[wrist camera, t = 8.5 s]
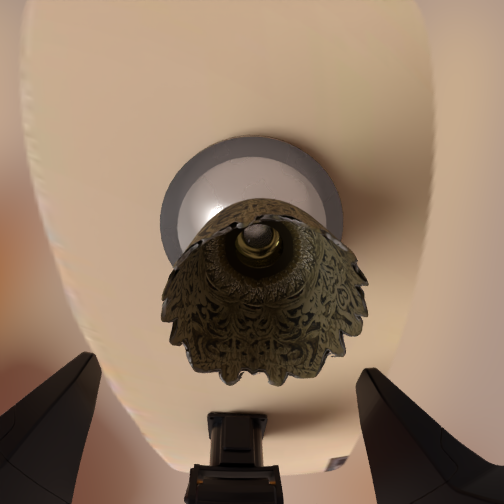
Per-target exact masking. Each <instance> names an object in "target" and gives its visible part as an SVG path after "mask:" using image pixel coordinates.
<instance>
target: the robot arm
mask: <svg viewBox="0 0 504 504" xmlns="http://www.w3.org/2000/svg"><path fill="white" fill-rule="evenodd" d="M101 373H102V371H101V367H100V365H99V362H98V360H97V357H96V355H95V354H94V353H90V352H83V353H81V354H80V355H78V356H77V357H76V358H74V359H73V360H72V361H70V362H69V363H68V364H66V365H65V366H64V367H63V368H61V369H60V370H59V371H57V372H56V373H55V374H53V375H52V376H51V377H50V378H48V379H47V380H46V381H44V382H43V383H42V384H41V385H39V386H38V387H37V388H36V389H34V390H33V391H32V392H30V393H29V394H28V395H27V396H25V397H24V398H23V399H22V400H20V401H19V402H18V403H16V405H14V406H13V407H11V408H10V409H9V410H8V411H6V412H5V413H4V414H2V415H1V416H0V504H71V503H72V498H73V493H74V488H75V483H76V478H77V474H78V470H79V465H80V461H81V457H82V453H83V449H84V446H85V442H86V438H87V434H88V431H89V427H90V424H91V421H92V417H93V413H94V409H95V404H96V399H97V394H98V388H99V384H100V379H101ZM356 394H357V402H358V409H359V418H360V425H361V430H362V434H363V438H364V442H365V446H366V451H367V456H368V460H369V465H370V469H371V474H372V479H373V484H374V489H375V494H376V500H377V504H504V466H499V465H495V464H492V463H489V462H488V461H486V460H484V459H483V458H482V457H480V456H479V455H477V454H476V453H474V452H473V451H471V450H470V449H469V448H467V447H466V446H465V445H463V444H462V443H461V442H459V441H458V440H457V439H455V438H454V437H453V436H452V435H451V434H449V433H448V432H447V431H446V430H445V429H444V428H442V427H441V426H440V425H439V424H438V423H437V422H436V421H435V420H433V418H431V417H430V416H429V415H428V414H427V413H426V412H425V411H424V410H422V409H421V408H420V407H419V406H418V405H417V404H416V403H415V402H413V401H412V400H411V399H410V398H409V397H408V396H407V395H406V394H405V393H403V392H402V391H401V390H400V389H399V388H398V387H397V386H396V385H394V384H393V383H392V382H391V381H390V380H389V379H388V378H387V377H386V376H385V375H383V374H382V373H381V372H380V371H379V370H378V369H377V368H374V367H373V368H365V369H364V370H363V371H362V373H361V375H360V377H359V379H358V381H357V383H356ZM207 421H208V430H209V439H211V450H210V466H205V465H200V464H194V468H191V469H190V478H189V484H188V487H187V490H186V494H185V497H184V502H185V503H186V504H284V502H283V492H282V486H281V480H280V473H279V467H278V465H273V466H265V467H264V466H263V449H262V439H263V436H264V432H265V428H266V424H267V416H266V415H236V414H216V413H209V414H208V415H207ZM269 482H270V484H269Z"/></svg>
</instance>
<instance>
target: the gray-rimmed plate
mask: <svg viewBox="0 0 504 504" xmlns="http://www.w3.org/2000/svg"><path fill="white" fill-rule="evenodd" d="M254 198H270V199H276V200H281V201H284V202H287V203H290V204H292V205H294V206H296V207H298V208H300V209H302V210H303V211H305V212H307V213H308V214H309V215H311V216H312V217H313V218H314V219H316V220H317V221H318V222H319V223H320V224H322V225H323V226H324V227H325V228H326V229H327V230H329V231H330V232H331V233H332V234H333V235H334V236H335V237H336V238H337V239H338V240H340V241H341V238H342V232H343V212H342V205H341V201H340V198H339V194H338V192H337V190H336V187H335V185H334V183H333V181H332V180H331V178H330V177H329V175H328V174H327V172H326V171H325V170H324V169H323V168H322V167H321V165H320V164H319V163H318V162H317V161H315V160H314V159H313V158H312V157H311V156H310V155H308V154H307V153H305V152H304V151H302V150H300V149H299V148H297V147H295V146H293V145H291V144H289V143H287V142H284V141H281V140H278V139H275V138H271V137H264V136H240V137H233V138H229V139H226V140H222V141H220V142H217V143H215V144H213V145H210V146H209V147H207V148H205V149H204V150H202V151H200V152H199V153H198V154H196V155H195V156H194V157H193V158H192V159H190V160H189V161H188V162H187V163H186V164H185V165H184V166H183V167H182V168H181V169H180V170H179V171H178V173H177V174H176V176H175V177H174V179H173V180H172V182H171V183H170V185H169V187H168V190H167V192H166V194H165V197H164V200H163V203H162V208H161V214H160V231H161V239H162V243H163V246H164V250H165V252H166V255H167V257H168V259H169V261H170V263H171V264H172V266H173V265H174V264H175V263H176V261H177V260H178V259H179V258H180V257H181V255H182V254H183V253H184V251H185V250H186V249H187V247H188V246H189V244H190V243H191V242H192V240H193V239H194V237H195V236H196V235H197V233H198V232H199V231H200V230H201V228H202V227H203V226H204V225H205V224H206V223H207V222H208V221H209V220H210V219H211V218H212V217H213V216H215V215H216V214H217V213H218V212H220V211H221V210H223V209H224V208H226V207H228V206H230V205H232V204H234V203H237V202H240V201H243V200H247V199H254ZM271 238H272V231H271V229H270V227H269V226H267V225H262V224H257V225H252V226H249V227H247V228H246V229H245V231H244V239H245V241H246V243H247V244H248V245H250V246H251V247H255V248H260V247H264V246H266V245H267V244H268V243H269V242H270V240H271Z"/></svg>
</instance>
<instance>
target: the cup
mask: <svg viewBox="0 0 504 504" xmlns="http://www.w3.org/2000/svg"><path fill="white" fill-rule="evenodd" d="M257 224H262V225H267V226H269V227H270V229H271V231H272V238H271V240H270V242H269V243H268V244H267V245H266V246H264V247H260V248H255V247H251V246H250V245H248V244H247V243H246V241H245V239H244V231H245V229H246V228H247V227H249V226H252V225H257ZM357 261H358V260H357V258H356V256H355V255H354V253H353V252H352V251H351V250H350V249H349V248H348V247H347V246H346V245H344V244H343V243H342V242H341V241H340V240H338V239H337V238H336V237H335V236H334V235H333V234H332V233H331V232H330V231H329V230H327V229H326V228H325V227H324V226H323V225H322V224H320V223H319V222H318V221H317V220H316V219H314V218H313V217H312V216H311V215H309V214H308V213H307V212H305V211H303V210H302V209H300V208H298V207H296V206H294V205H292V204H290V203H287V202H284V201H281V200H276V199H270V198H254V199H247V200H243V201H240V202H237V203H234V204H232V205H230V206H228V207H226V208H224V209H223V210H221V211H220V212H218V213H217V214H216V215H215V216H213V217H212V218H211V219H210V220H209V221H208V222H207V223H206V224H205V225H204V226H203V227H202V228H201V230H200V231H199V232H198V233H197V235H196V236H195V237H194V239H193V240H192V242H191V243H190V244H189V246H188V247H187V249H186V250H185V251H184V253H183V254H182V255H181V257H180V258H179V259H178V260H177V261H176V263H175V264H174V265H173V268H174V270H173V271H172V272H171V274H170V276H169V278H168V281H167V284H166V286H165V288H164V291H163V294H162V301H164V300H165V301H164V302H163V305H162V313H161V320H162V322H168V323H170V322H173V326H172V331H171V335H170V339H169V342H170V343H171V344H172V345H174V346H175V345H176V346H181V345H182V344H183V345H184V346H185V350H186V355H187V359H188V361H189V363H190V365H191V367H192V368H193V370H194V371H195V372H198V373H212V372H219V376H220V379H221V380H222V381H223V382H224V383H225V384H227V385H229V386H231V385H234V384H236V383H237V382H238V381H240V379H241V378H242V377H241V376H242V375H243V373H244V372H242V373H240V372H241V371H248V372H249V373H251V374H252V375H256V374H258V373H257V372H264V373H265V374H266V375H267V377H268V380H269V381H268V383H269V384H271V385H274V386H281V385H283V384H284V383H285V381H286V379H287V377H288V375H289V376H293V377H295V378H314V377H316V376H317V375H318V374H319V372H320V371H321V369H322V367H323V365H324V363H325V360H326V358H327V356H328V355H329V354H331V353H332V354H335V357H344V355H345V354H346V348H345V343H344V339H343V338H344V337H343V334H345V335H347V336H350V337H352V336H354V337H356V336H358V335H360V334H361V331H362V326H363V320H362V318H361V316H363V317H368V310H367V306H366V302H365V299H364V291H363V290H362V288H361V287H360V286H368V281H367V279H366V277H365V276H364V274H363V273H362V271H361V270H360V269H359V267H358V266H357V263H356V262H357ZM181 342H183V343H181ZM329 352H331V353H329ZM331 357H334V356H331ZM239 373H240V375H239ZM237 379H238V380H237Z"/></svg>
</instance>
